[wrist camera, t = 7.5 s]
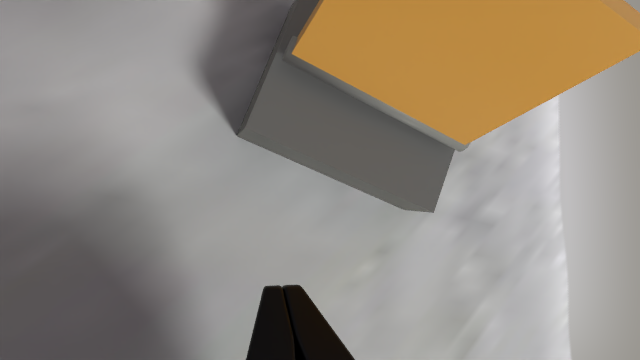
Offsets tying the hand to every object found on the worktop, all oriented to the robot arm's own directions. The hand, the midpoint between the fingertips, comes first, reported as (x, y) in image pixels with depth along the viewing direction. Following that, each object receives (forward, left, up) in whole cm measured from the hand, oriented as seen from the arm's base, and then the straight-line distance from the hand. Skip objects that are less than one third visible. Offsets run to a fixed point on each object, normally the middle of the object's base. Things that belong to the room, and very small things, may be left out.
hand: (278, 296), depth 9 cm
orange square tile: (+4, -9, -9) cm, 13 cm away
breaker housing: (+4, -9, -13) cm, 16 cm away
